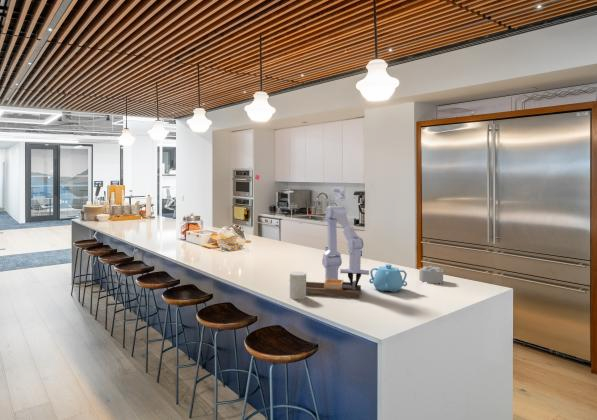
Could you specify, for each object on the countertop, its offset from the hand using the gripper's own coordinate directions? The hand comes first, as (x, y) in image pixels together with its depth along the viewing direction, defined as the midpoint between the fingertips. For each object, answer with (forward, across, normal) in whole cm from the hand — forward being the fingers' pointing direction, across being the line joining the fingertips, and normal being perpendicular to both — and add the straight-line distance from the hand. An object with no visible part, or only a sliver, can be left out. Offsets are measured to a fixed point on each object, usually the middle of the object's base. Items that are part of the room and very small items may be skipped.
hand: (354, 287), depth 216 cm
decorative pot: (+4, +17, +14) cm, 22 cm away
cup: (+4, -27, -12) cm, 30 cm away
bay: (+3, -14, 0) cm, 14 cm away
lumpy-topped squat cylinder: (+4, +42, +38) cm, 57 cm away
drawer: (+2, -7, 0) cm, 8 cm away
